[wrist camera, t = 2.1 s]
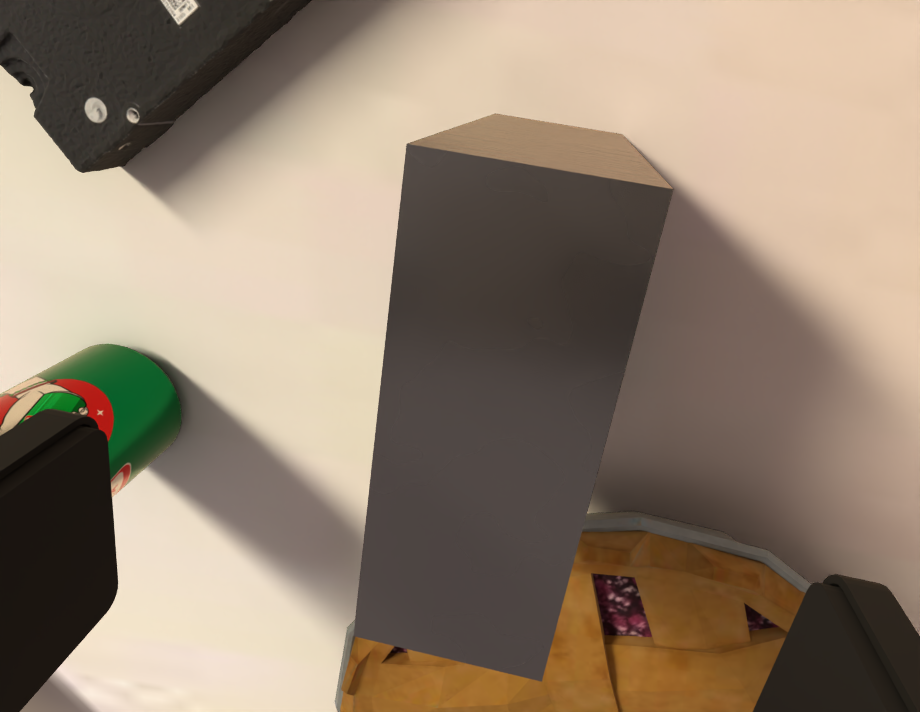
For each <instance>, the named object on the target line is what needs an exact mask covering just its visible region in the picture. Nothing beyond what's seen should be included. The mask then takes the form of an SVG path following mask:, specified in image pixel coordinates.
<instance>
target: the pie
mask: <svg viewBox="0 0 920 712" xmlns="http://www.w3.org/2000/svg"><path fill="white" fill-rule="evenodd" d="M810 585H812V584H810V583H809V582H808V581H807V580H805V579H804V578H803V577H802V576H800V575H799V574H798V573H796V572H795V571H794V570H793V569H791V568H790V567H789V566H788V565H786V564H785V563H784V562H783V561H781V560H780V559H779V558H777V557H776V556H775V555H774V554H772V553H771V552H770V551H769V550H765V549H762V548H758V547H754V546H750V545H746V544H742V543H739V542H737V541H735V540H734V539H733V538H731V537H730V536H729V535H727V534H726V533H724V532H722V531H718V530H713V529H709V528H705V527H700V526H696V525H692V524H687V523H683V522H679V521H674V520H670V519H666V518H661V517H657V516H653V515H648V514H644V513H640V512H636V511H624V512H607V513H591V514H586V518H585V522H584V526H583V529H582V533H581V537H580V541H579V544H578V548H577V552H576V556H575V559H574V563H573V567H572V570H571V574H570V578H569V582H568V585H567V589H566V593H565V597H564V600H563V604H562V608H561V612H560V615H559V619H558V623H557V627H556V630H555V634H554V638H553V642H552V645H551V649H550V653H549V657H548V660H547V664H546V668H545V672H544V675H543V679H542V682H541V681H537V680H533V679H528V678H524V677H520V676H516V675H512V674H508V673H504V672H500V671H495V670H491V669H487V668H483V667H479V666H475V665H471V664H466V663H462V662H458V661H454V660H450V659H446V658H442V657H437V656H433V655H429V654H425V653H421V652H417V651H413V650H409V649H404V648H400V647H396V646H392V645H388V644H384V643H380V642H375V641H371V640H367V639H363V638H359V637H355V636H354V627H355V620H354V621H353V622H352V623H351V624H350V625H349V626H348V628H347V633H346V639H345V645H344V651H343V657H342V662H341V668H340V674H339V680H338V686H337V692H336V698H335V705H336V708H337V711H338V712H753V710H754V707H755V705H756V703H757V701H758V699H759V696H760V694H761V692H762V690H763V687H764V685H765V683H766V681H767V678H768V676H769V674H770V672H771V670H772V667H773V665H774V663H775V661H776V658H777V656H778V654H779V652H780V649H781V647H782V645H783V643H784V641H785V638H786V636H787V634H788V632H789V629H790V627H791V625H792V623H793V620H794V618H795V616H796V614H797V612H798V609H799V607H800V605H801V603H802V600H803V598H804V596H805V594H806V591H807V590H808V588H809V586H810Z"/></svg>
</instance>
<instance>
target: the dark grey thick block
mask: <svg viewBox="0 0 920 712" xmlns="http://www.w3.org/2000/svg"><path fill="white" fill-rule="evenodd" d="M672 192H673V188H672V187H671V186H670V185H669V184H668V183H667V182H666V181H665V180H664V179H663V177H662V176H661V175H660V174H659V173H658V172H657V171H656V170H655V169H654V168H653V167H652V166H651V165H650V164H649V163H648V161H647V160H646V159H645V158H644V157H643V156H642V155H641V154H640V153H639V152H638V151H637V150H636V149H635V148H634V147H633V146H632V144H631V143H630V142H629V141H628V140H627V139H626V138H625V137H624V136H623V135H622V134H617V133H611V132H605V131H599V130H593V129H586V128H580V127H574V126H568V125H562V124H556V123H550V122H544V121H537V120H531V119H525V118H519V117H513V116H507V115H501V114H493V115H490V116H487V117H484V118H481V119H478V120H475V121H472V122H469V123H466V124H463V125H460V126H458V127H455V128H452V129H449V130H446V131H443V132H440V133H437V134H434V135H431V136H428V137H425V138H422V139H419V140H416V141H414V142H411V143H408V144H407V146H406V155H405V165H404V174H403V183H402V192H401V202H400V211H399V220H398V229H397V239H396V248H395V257H394V266H393V276H392V285H391V294H390V303H389V313H388V322H387V331H386V340H385V350H384V359H383V368H382V377H381V386H380V396H379V405H378V414H377V423H376V433H375V442H374V451H373V460H372V470H371V479H370V488H369V497H368V507H367V516H366V525H365V534H364V544H363V553H362V562H361V571H360V581H359V590H358V599H357V608H356V618H355V627H354V636H355V637H359V638H363V639H367V640H371V641H375V642H380V643H384V644H388V645H392V646H396V647H400V648H404V649H409V650H413V651H417V652H421V653H425V654H429V655H433V656H437V657H442V658H446V659H450V660H454V661H458V662H462V663H466V664H471V665H475V666H479V667H483V668H487V669H491V670H495V671H500V672H504V673H508V674H512V675H516V676H520V677H524V678H528V679H533V680H537V681H541V682H542V679H543V675H544V672H545V668H546V664H547V660H548V657H549V653H550V649H551V645H552V642H553V638H554V634H555V630H556V627H557V623H558V619H559V615H560V612H561V608H562V604H563V600H564V597H565V593H566V589H567V585H568V582H569V578H570V574H571V570H572V567H573V563H574V559H575V556H576V552H577V548H578V544H579V541H580V537H581V533H582V529H583V526H584V522H585V518H586V514H587V511H588V507H589V503H590V499H591V496H592V492H593V488H594V484H595V481H596V477H597V473H598V469H599V466H600V462H601V458H602V454H603V451H604V447H605V443H606V439H607V436H608V432H609V428H610V424H611V421H612V417H613V413H614V410H615V406H616V402H617V398H618V395H619V391H620V387H621V383H622V380H623V376H624V372H625V368H626V365H627V361H628V357H629V353H630V350H631V346H632V342H633V338H634V335H635V331H636V327H637V323H638V320H639V316H640V312H641V308H642V305H643V301H644V297H645V293H646V290H647V286H648V282H649V278H650V275H651V271H652V267H653V264H654V260H655V256H656V252H657V249H658V245H659V241H660V237H661V234H662V230H663V226H664V222H665V219H666V215H667V211H668V207H669V204H670V200H671V196H672Z"/></svg>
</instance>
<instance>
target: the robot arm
mask: <svg viewBox="0 0 920 712" xmlns="http://www.w3.org/2000/svg"><path fill="white" fill-rule="evenodd" d="M117 589H118V575H117V561H116V547H115V533H114V519H113V505H112V491H111V477H110V463H109V449H108V440H107V436H106V434H105V432H103V431H102V430H99V427H98V424H97V422H96V421H95V419H93V418H91V417H90V416H85V415H80V414H75V413H71V412H66V411H61V410H56V409H45V410H42V411H40V412H38V413H36V414H35V415H33V416H32V417H30V418H28V419H27V420H25V421H23V422H22V423H20V424H19V425H17V426H15V427H14V428H12V429H10V430H9V431H7V432H5V433H4V434H2V435H1V436H0V712H20V710H21V709H22V708H23V707H24V706H25V705H26V704H27V703H28V701H29V700H30V699H31V698H32V697H33V696H34V695H35V693H36V692H37V691H38V690H39V689H40V688H41V687H42V686H43V684H44V683H45V682H46V681H47V680H48V679H49V678H50V676H51V675H52V674H53V673H54V672H55V671H56V670H57V668H58V667H59V666H60V665H61V664H62V663H63V662H64V661H65V659H66V658H67V657H68V656H69V655H70V654H71V653H72V651H73V650H74V649H75V648H76V647H77V646H78V645H79V643H80V642H81V641H82V640H83V639H84V638H85V637H86V635H87V634H88V633H89V632H90V631H91V630H92V629H93V628H94V626H95V625H96V624H97V623H98V622H99V621H100V620H101V618H102V617H103V616H104V615H105V614H106V613H107V611H108V610H109V609H110V607H111V605H112V603H113V602H114V599H115V596H116V593H117ZM753 712H920V636H919V634H918V633H917V631H916V630H915V628H914V627H913V625H912V624H911V622H910V620H909V619H908V617H907V616H906V614H905V613H904V611H903V609H902V608H901V606H900V605H899V603H898V602H897V600H896V599H895V597H894V595H893V594H892V592H891V591H890V590H889V589H888V588H887V587H886V586H884V585H882V584H880V583H875V582H870V581H865V580H861V579H856V578H851V577H847V576H842V575H837V574H834V575H830V576H828V577H827V578H826V579H825V580H824V582H823V583H818V582H817V583H813V584H812V585H810V586H809V588H808V590H807V591H806V594H805V596H804V598H803V600H802V603H801V605H800V607H799V609H798V612H797V614H796V616H795V618H794V620H793V623H792V625H791V627H790V629H789V632H788V634H787V636H786V638H785V641H784V643H783V645H782V647H781V649H780V652H779V654H778V656H777V658H776V661H775V663H774V665H773V667H772V670H771V672H770V674H769V676H768V678H767V681H766V683H765V685H764V687H763V690H762V692H761V694H760V696H759V699H758V701H757V703H756V705H755V707H754V710H753Z"/></svg>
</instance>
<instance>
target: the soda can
mask: <svg viewBox="0 0 920 712" xmlns="http://www.w3.org/2000/svg"><path fill="white" fill-rule="evenodd" d="M45 409H56V410H61V411H66V412H71V413H75V414H80V415H85V416H90V417H91V418H93V419H95V421H96V422H97V424H98V427H99V430H102V431H103V432H105V434H106V436H107V440H108V449H109V463H110V477H111V491H112V497H113V496H114V495H115V494H117V493H118V492H119V491H120V490H121V489H122V488H123V487H125V486H126V485H127V484H128V483H129V482H130V481H131V480H132V479H134V478H135V477H136V476H137V475H138V474H139V473H140V472H141V471H143V470H144V469H145V468H146V467H147V466H148V465H149V464H150V463H152V462H153V461H154V460H155V459H156V458H157V457H158V456H159V455H161V454H162V453H163V452H164V451H165V450H166V449H167V448H168V447H169V446H171V445H172V443H173V442H174V440H175V439H176V437H177V435H178V433H179V430H180V426H181V407H180V401H179V398H178V395H177V392H176V390H175V387H174V385H173V384H172V382H171V380H170V379H169V377H168V376H167V375H166V373H165V372H164V371H163V370H162V369H161V368H160V367H159V366H158V365H157V364H156V363H155V362H153V361H152V360H151V359H149V358H148V357H146V356H144V355H143V354H141V353H139V352H137V351H135V350H132V349H130V348H127V347H123V346H120V345H113V344H99V345H94V346H90V347H88V348H86V349H84V350H82V351H80V352H78V353H76V354H74V355H72V356H70V357H69V358H67V359H65V360H63V361H61V362H59V363H57V364H55V365H54V366H52V367H50V368H48V369H46V370H44V371H42V372H41V373H39V374H37V375H35V376H33V377H31V378H29V379H27V380H26V381H24V382H22V383H20V384H18V385H16V386H14V387H12V388H11V389H9V390H7V391H5V392H3V393H1V394H0V436H1V435H2V434H4V433H5V432H7V431H9V430H10V429H12V428H14V427H15V426H17V425H19V424H20V423H22V422H23V421H25V420H27V419H28V418H30V417H32V416H33V415H35V414H36V413H38V412H40V411H42V410H45Z"/></svg>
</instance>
